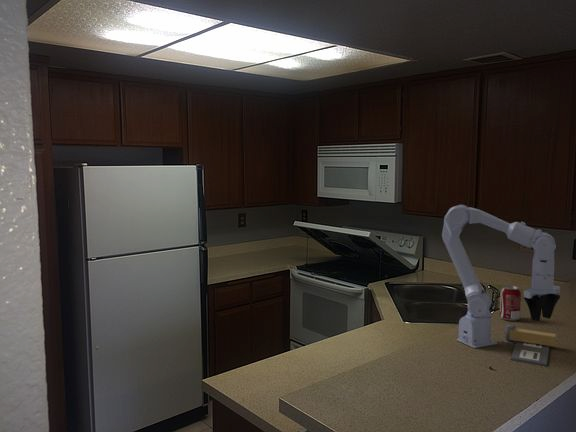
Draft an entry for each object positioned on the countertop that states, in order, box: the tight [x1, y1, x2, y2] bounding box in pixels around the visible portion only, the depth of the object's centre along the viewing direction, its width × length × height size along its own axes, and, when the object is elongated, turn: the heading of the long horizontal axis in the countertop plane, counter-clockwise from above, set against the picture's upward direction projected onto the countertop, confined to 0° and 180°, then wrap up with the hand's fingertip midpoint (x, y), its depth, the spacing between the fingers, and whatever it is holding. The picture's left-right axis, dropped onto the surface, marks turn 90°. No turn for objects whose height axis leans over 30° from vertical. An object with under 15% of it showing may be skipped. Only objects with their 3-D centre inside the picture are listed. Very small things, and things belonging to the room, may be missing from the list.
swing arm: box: [504, 324, 557, 347], centre depth 149 cm, size 14×3×4 cm, turn 59°
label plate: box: [502, 338, 551, 367], centre depth 144 cm, size 22×13×1 cm, turn 149°
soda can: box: [499, 285, 522, 322], centre depth 176 cm, size 7×7×12 cm
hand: (541, 319), depth 143 cm, fingers open, 5 cm apart
